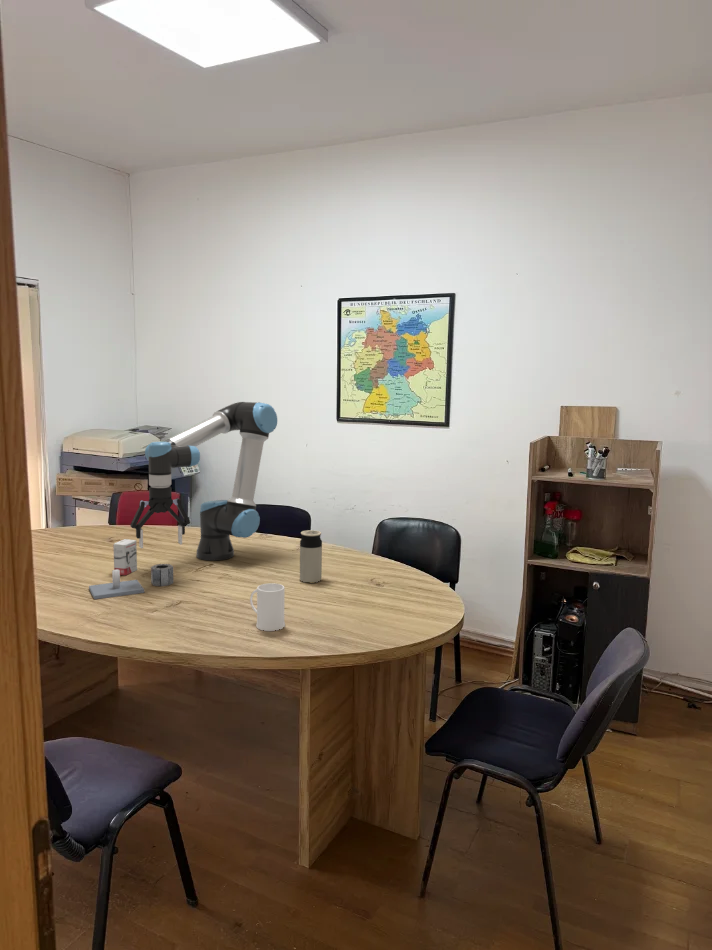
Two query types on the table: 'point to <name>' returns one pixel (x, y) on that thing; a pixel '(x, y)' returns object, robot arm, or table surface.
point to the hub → (162, 575)
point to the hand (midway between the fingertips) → (160, 545)
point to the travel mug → (310, 556)
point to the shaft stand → (116, 587)
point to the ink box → (125, 556)
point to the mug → (269, 606)
